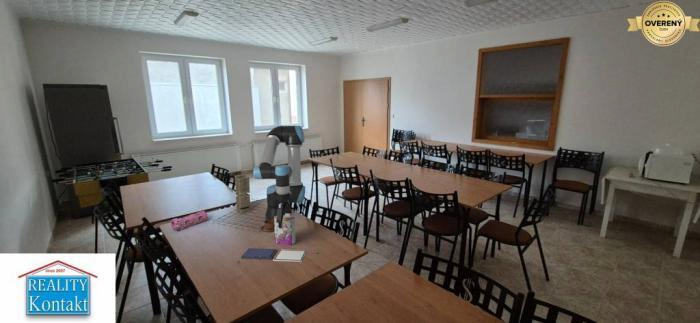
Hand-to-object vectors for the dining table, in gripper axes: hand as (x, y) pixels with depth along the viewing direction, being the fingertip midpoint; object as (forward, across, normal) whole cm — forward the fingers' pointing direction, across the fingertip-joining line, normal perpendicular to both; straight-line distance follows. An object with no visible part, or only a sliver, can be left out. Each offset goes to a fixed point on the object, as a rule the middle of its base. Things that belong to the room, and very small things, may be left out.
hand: (284, 228), depth 168 cm
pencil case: (+9, -20, -71) cm, 74 cm away
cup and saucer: (+9, -19, -16) cm, 26 cm away
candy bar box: (+10, 0, 0) cm, 10 cm away
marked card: (+10, +14, +7) cm, 18 cm away
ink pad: (+10, +14, -10) cm, 19 cm away
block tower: (+9, -48, -46) cm, 67 cm away
